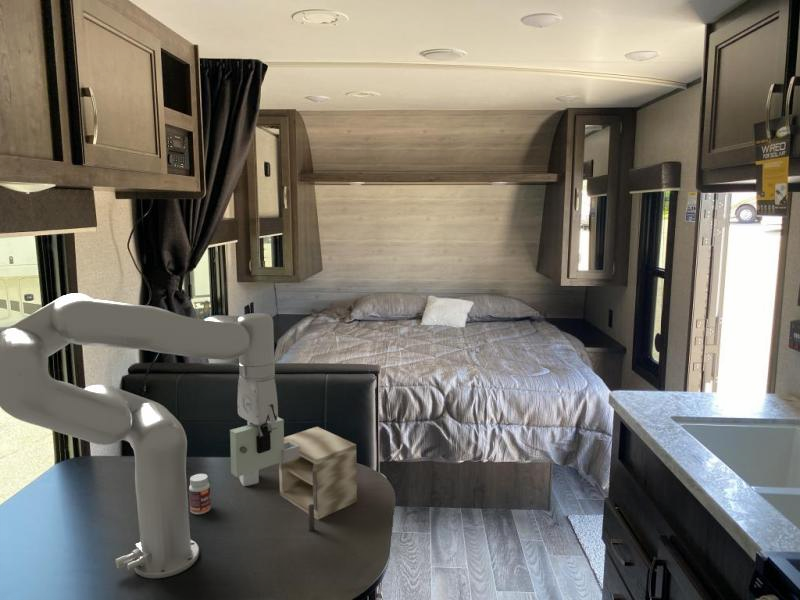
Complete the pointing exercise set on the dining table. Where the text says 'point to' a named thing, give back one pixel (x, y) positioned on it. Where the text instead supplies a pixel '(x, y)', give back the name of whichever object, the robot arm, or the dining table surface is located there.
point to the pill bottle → (199, 494)
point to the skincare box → (250, 478)
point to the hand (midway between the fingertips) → (260, 448)
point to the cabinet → (320, 474)
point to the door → (246, 449)
